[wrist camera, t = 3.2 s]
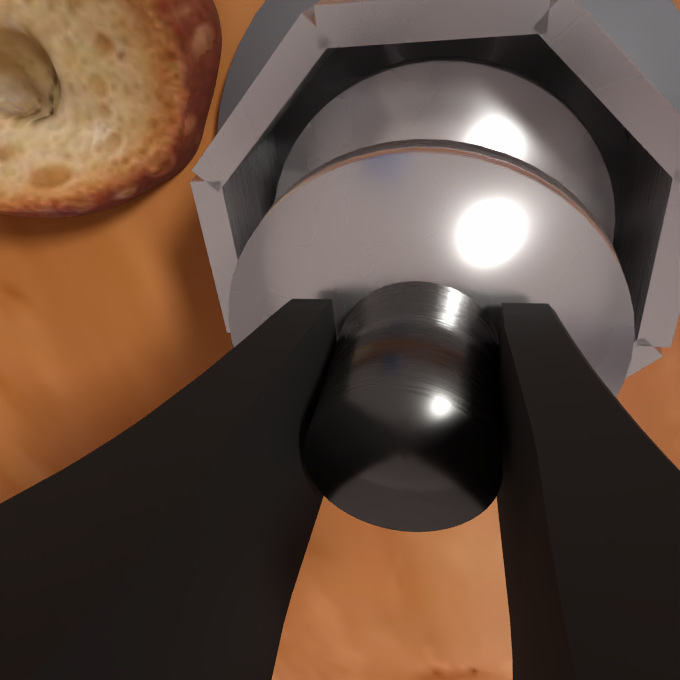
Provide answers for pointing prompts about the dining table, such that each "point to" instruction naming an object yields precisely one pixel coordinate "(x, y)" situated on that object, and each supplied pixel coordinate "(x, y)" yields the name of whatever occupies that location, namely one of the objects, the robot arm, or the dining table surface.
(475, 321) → the silver rounded piece
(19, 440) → the dining table surface
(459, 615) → the dining table surface
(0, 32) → the slice of bread
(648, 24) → the round metal disc
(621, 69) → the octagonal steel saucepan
